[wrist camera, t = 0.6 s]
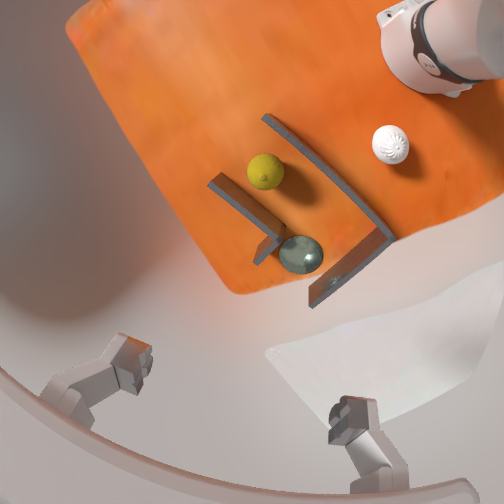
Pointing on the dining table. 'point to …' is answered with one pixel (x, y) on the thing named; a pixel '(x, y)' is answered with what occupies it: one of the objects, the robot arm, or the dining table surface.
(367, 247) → the rail corridor
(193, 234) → the dining table surface
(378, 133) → the white rounded piece
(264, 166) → the lemon
